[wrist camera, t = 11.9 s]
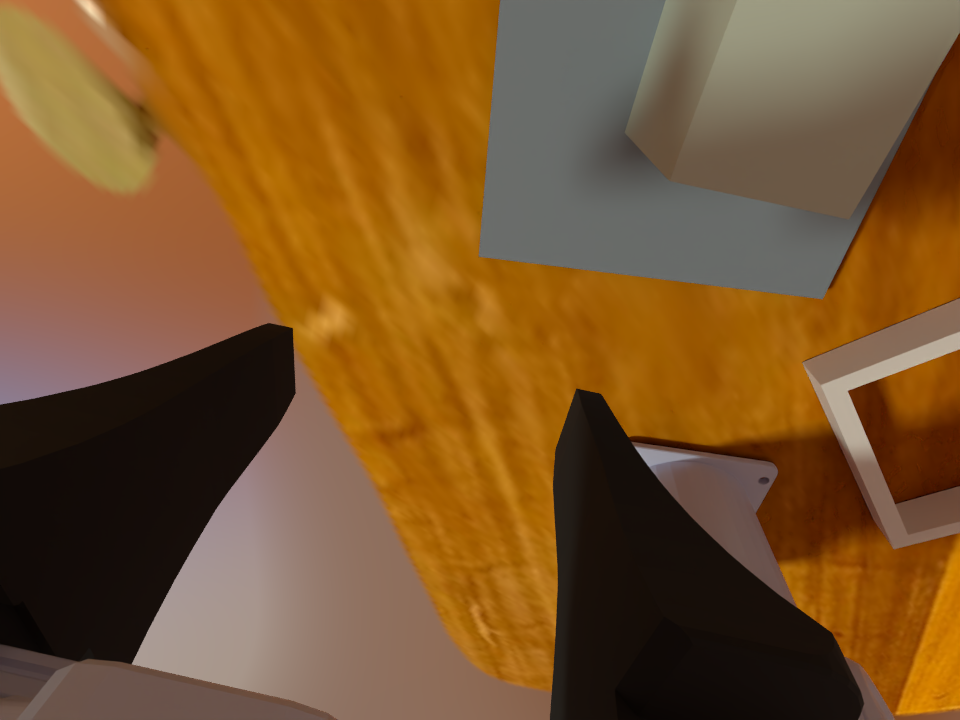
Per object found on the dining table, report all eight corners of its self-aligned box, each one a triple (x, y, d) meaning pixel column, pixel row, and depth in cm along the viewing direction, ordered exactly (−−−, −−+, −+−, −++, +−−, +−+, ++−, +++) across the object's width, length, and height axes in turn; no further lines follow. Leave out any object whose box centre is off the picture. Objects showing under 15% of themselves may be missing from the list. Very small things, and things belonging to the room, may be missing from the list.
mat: (815, 292, 20) (822, 298, 20) (480, 251, 21) (478, 256, 21) (1057, -200, 13) (1077, -210, 12) (521, -232, 14) (520, -242, 13)
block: (792, 21, 15) (981, -5, 9) (734, 156, 17) (848, 219, 11) (667, -5, 15) (756, -52, 9) (624, 132, 18) (669, 180, 11)
